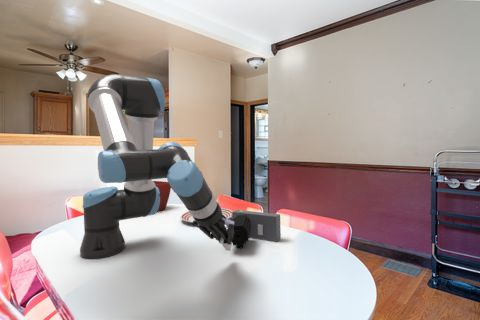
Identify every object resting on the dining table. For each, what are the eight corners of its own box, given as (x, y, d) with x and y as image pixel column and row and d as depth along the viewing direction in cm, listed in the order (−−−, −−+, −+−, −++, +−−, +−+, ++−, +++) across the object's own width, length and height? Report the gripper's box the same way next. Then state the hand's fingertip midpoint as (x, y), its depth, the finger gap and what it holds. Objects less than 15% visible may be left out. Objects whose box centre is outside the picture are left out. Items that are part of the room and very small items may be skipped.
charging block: (276, 242, 107) (276, 216, 106) (232, 235, 117) (231, 211, 116) (280, 238, 111) (280, 213, 110) (237, 232, 121) (236, 209, 120)
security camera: (251, 237, 114) (250, 213, 113) (248, 255, 95) (247, 226, 95) (234, 237, 115) (234, 213, 114) (228, 254, 96) (227, 226, 96)
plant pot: (155, 205, 182) (154, 180, 181) (173, 209, 170) (172, 182, 169) (128, 211, 167) (126, 183, 166) (145, 215, 155) (144, 186, 154)
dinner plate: (226, 228, 127) (226, 221, 127) (171, 226, 133) (171, 220, 133) (238, 214, 154) (238, 208, 154) (192, 213, 160) (192, 207, 159)
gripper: (177, 218, 73) (207, 255, 89) (223, 222, 68) (245, 260, 85) (187, 194, 77) (214, 234, 94) (230, 196, 73) (250, 237, 90)
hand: (229, 246), depth 90 cm, fingers closed
